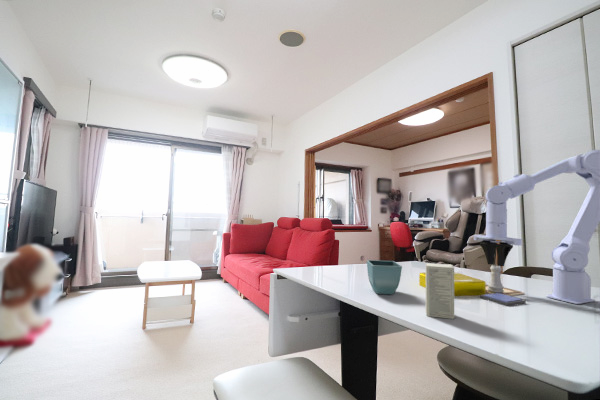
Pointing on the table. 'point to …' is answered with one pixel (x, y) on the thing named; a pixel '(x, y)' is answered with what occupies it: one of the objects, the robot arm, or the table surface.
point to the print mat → (506, 291)
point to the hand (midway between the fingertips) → (495, 265)
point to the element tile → (462, 285)
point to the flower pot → (384, 276)
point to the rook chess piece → (495, 280)
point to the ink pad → (502, 299)
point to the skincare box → (440, 290)
